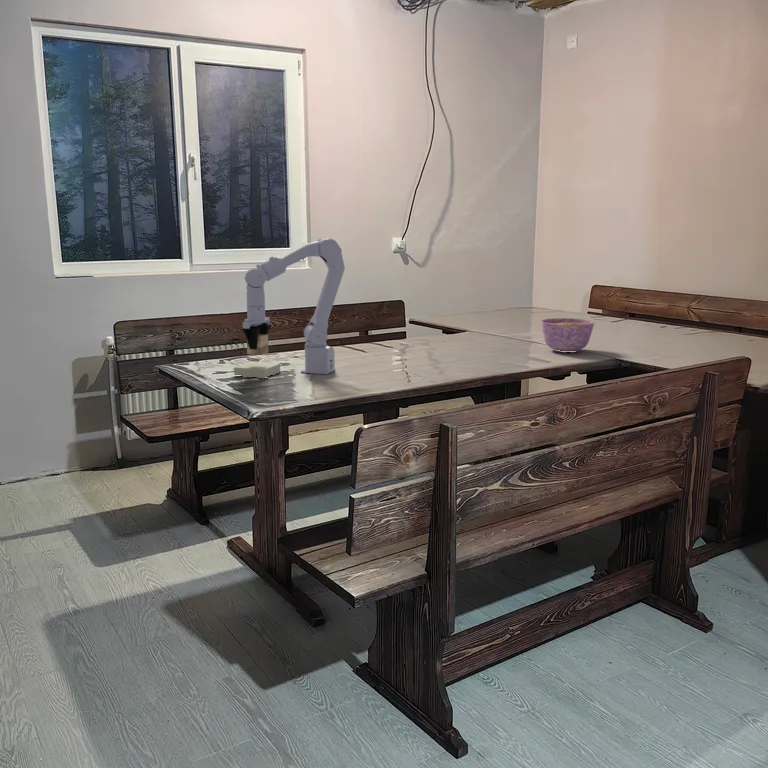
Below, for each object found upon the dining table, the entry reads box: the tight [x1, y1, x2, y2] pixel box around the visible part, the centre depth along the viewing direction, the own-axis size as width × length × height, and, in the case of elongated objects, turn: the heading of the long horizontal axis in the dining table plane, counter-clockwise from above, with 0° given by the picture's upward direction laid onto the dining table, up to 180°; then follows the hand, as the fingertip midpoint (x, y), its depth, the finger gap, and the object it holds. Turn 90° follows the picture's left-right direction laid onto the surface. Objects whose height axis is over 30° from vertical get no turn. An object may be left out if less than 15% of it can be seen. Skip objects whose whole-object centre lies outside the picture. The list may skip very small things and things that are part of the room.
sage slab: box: [233, 361, 281, 378], centre depth 252 cm, size 11×11×3 cm
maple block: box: [246, 334, 269, 356], centre depth 250 cm, size 5×5×6 cm
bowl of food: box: [540, 317, 595, 352], centre depth 295 cm, size 20×20×12 cm
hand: (257, 347), depth 251 cm, fingers closed on maple block, 5 cm apart
